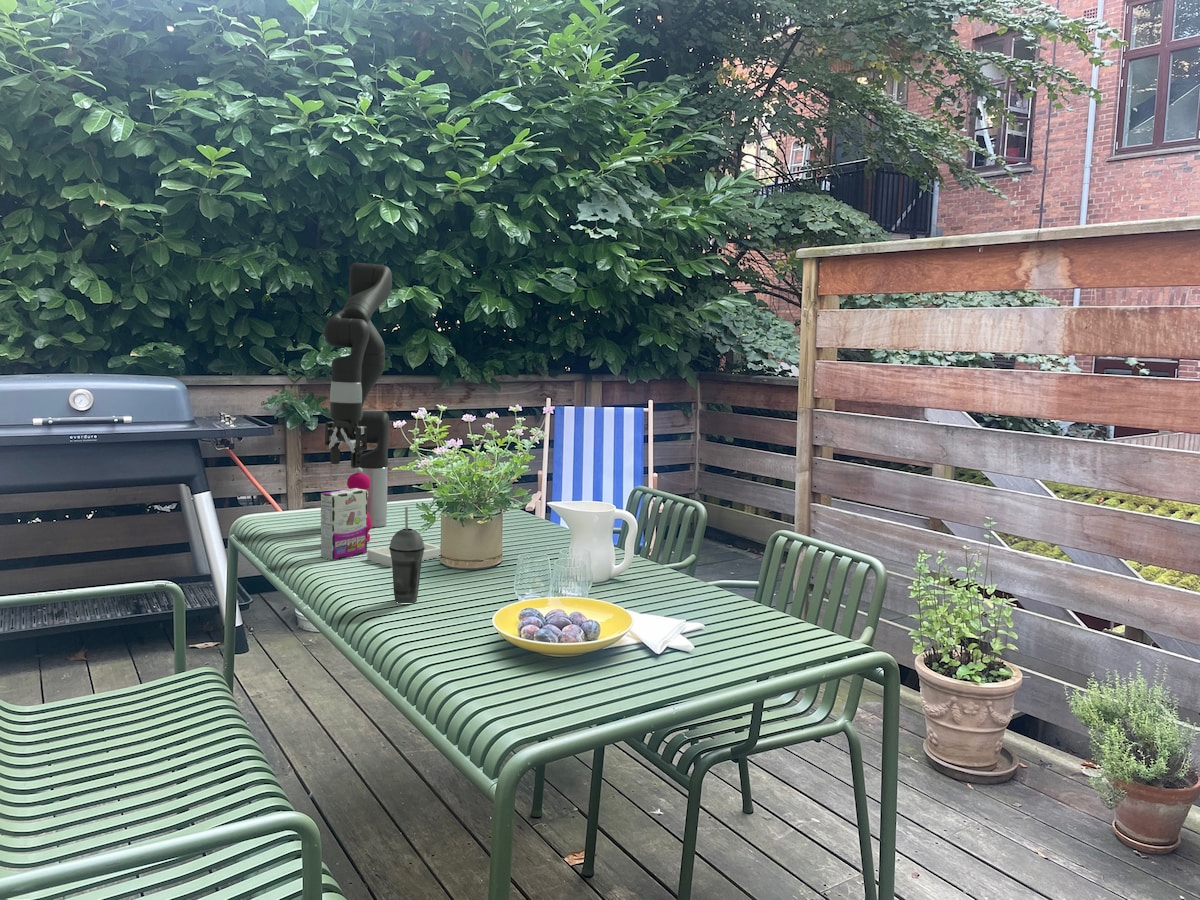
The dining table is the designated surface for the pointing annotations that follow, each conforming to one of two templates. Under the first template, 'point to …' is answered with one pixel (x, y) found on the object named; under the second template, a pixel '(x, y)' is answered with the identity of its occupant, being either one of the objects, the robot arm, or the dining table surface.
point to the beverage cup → (406, 563)
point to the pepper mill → (361, 482)
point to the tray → (385, 558)
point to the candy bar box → (343, 523)
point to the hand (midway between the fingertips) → (345, 465)
